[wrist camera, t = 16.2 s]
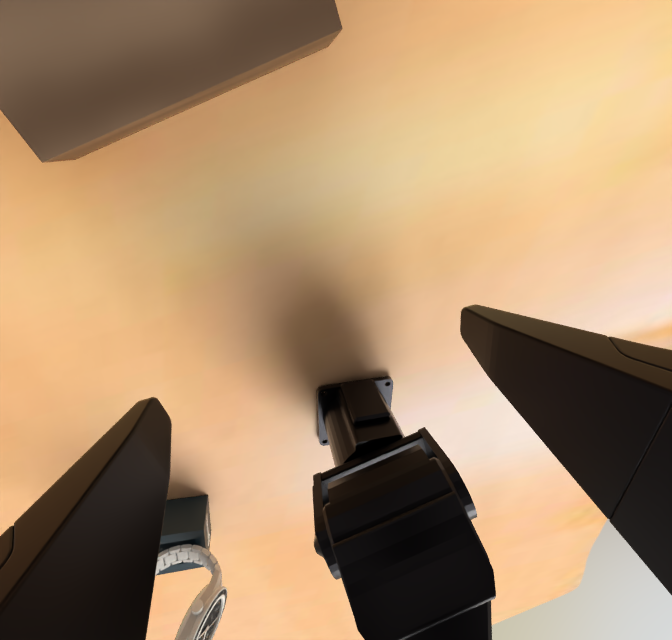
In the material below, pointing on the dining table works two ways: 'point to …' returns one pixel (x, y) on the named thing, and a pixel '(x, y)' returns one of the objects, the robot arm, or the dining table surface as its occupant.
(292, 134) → the dining table surface
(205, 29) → the walnut block
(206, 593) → the watch
